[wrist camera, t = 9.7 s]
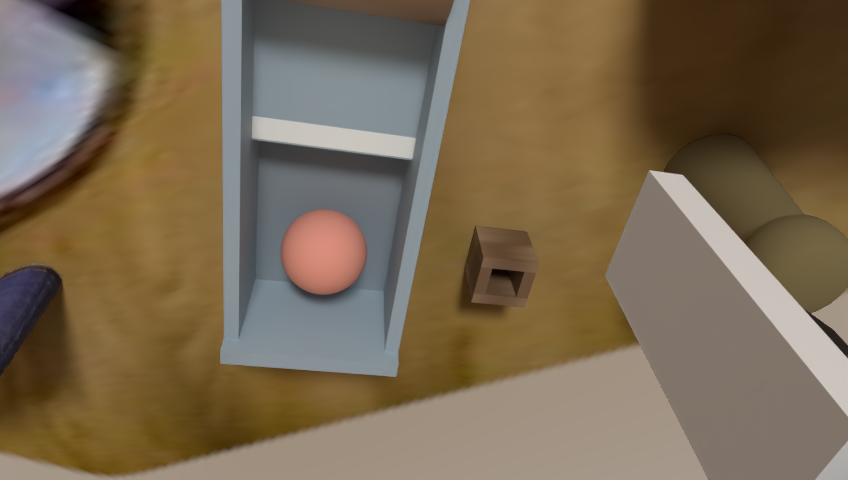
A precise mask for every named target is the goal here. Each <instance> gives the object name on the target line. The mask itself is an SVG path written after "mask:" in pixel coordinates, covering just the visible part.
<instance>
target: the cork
mask: <svg viewBox="0 0 848 480" xmlns="http://www.w3.org/2000/svg"><path fill="white" fill-rule="evenodd" d="M664 172H665V173H672V174H679V175H683V176H684V177H685V178H686V179H687V180H688V181H689V182H690V183H691V185H692V186H693V187H694V188H695V189H696V190H697V191H698V192H699V193H700V195H701V196H702V197H703V198H704V199H705V200H706V201H707V202H708V203H709V205H710V206H711V207H712V208H713V209H714V210H715V211H716V212H717V213H718V215H719V216H720V217H721V218H722V219H723V220H724V221H725V222H726V224H727V225H728V226H729V227H730V228H731V229H732V230H733V231H734V232H735V234H736V235H737V236H738V237H739V238H740V239H741V240H742V241H743V242H744V244H745V245H746V246H747V247H748V248H749V249H750V250H751V251H752V252H753V254H754V255H755V256H756V257H757V258H758V259H759V260H760V261H761V262H762V264H763V265H764V266H765V267H766V268H767V269H768V270H769V271H770V272H771V274H772V275H773V276H774V277H775V278H776V279H777V280H778V281H779V282H780V284H781V285H782V286H783V287H784V288H785V289H786V290H787V291H788V293H789V294H790V295H791V296H792V297H793V298H794V299H795V300H796V301H797V303H798V304H799V305H800V306H801V307H802V308H803V309H805V310H807V311H808V312H809V313H812V312H816V311H817V310H819V309H821V308H823V307H825V306H827V305H829V304H830V303H832V302H833V301H834V300H835V299H837V298H838V297H839V296H840V295H841V294H842V293H843V292H844V291H845V289H846V288H847V287H848V240H847V238H846V236H845V235H844V234H843V233H842V232H840V231H839V230H838V229H837V228H835V227H834V226H832V225H831V224H830V223H828V222H827V221H825V220H822V219H820V218H817V217H813V216H809V215H804V213H803V212H802V211H801V209H800V208H799V207H798V206H797V204H796V203H795V202H794V201H793V199H792V198H791V197H790V195H789V194H788V193H787V192H786V190H785V189H784V188H783V187H782V185H781V184H780V183H779V181H778V180H777V179H776V178H775V176H774V175H773V174H772V173H771V171H770V170H769V169H768V167H767V166H766V165H765V164H764V162H763V161H762V160H761V159H760V157H759V156H758V155H757V153H756V152H755V151H754V150H753V148H752V147H751V146H750V144H748V143H747V142H745V141H744V140H742V139H741V138H740V137H737V136H732V135H728V134H718V135H709V136H706V137H703V138H701V139H698V140H695V141H693V142H692V143H690V144H689V145H687V146H686V147H684V148H683V149H681V150H680V151H679V152H678V153H677V154H676V155H675V156H674V157H673V158H672V159H671V161H670V162H669V163H668V165H667V166H666V168H665V170H664Z"/></svg>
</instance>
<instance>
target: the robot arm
mask: <svg viewBox="0 0 848 480" xmlns="http://www.w3.org/2000/svg"><path fill="white" fill-rule="evenodd" d="M605 277H606V279H607V281H608V283H609V285H610V287H611V289H612V291H613V293H614V295H615V297H616V299H617V301H618V303H619V305H620V307H621V309H622V311H623V313H624V315H625V317H626V318H627V320H628V322H629V324H630V326H631V328H632V330H633V332H634V334H635V336H636V338H637V340H638V342H639V344H640V346H641V348H642V350H643V352H644V354H645V356H646V358H647V360H648V362H649V363H650V365H651V368H652V370H653V371H654V374H655V375H656V377H657V379H658V381H659V383H660V385H661V387H662V389H663V391H664V393H665V395H666V397H667V399H668V401H669V403H670V405H671V407H672V409H673V411H674V413H675V414H676V417H677V419H678V421H679V423H680V425H681V427H682V429H683V430H684V432H685V434H686V436H687V438H688V440H689V442H690V444H691V446H692V448H693V450H694V452H695V454H696V456H697V458H698V460H699V462H700V464H701V466H702V468H703V470H704V472H705V474H706V476H707V478H708V480H848V345H847V344H846V343H845V342H844V341H843V340H842V339H841V338H840V337H839V336H838V334H837V333H836V332H835V331H834V330H833V329H831V328H830V327H829V326H827V325H826V324H824V323H823V322H822V321H820V320H819V319H817V318H816V317H815V316H813V315H812V314H811V313H809V312H808V311H807V310H805V309H803V308H802V307H801V306H800V305H799V304H798V303H797V301H796V300H795V299H794V298H793V297H792V296H791V295H790V294H789V293H788V291H787V290H786V289H785V288H784V287H783V286H782V285H781V284H780V282H779V281H778V280H777V279H776V278H775V277H774V276H773V275H772V274H771V272H770V271H769V270H768V269H767V268H766V267H765V266H764V265H763V264H762V262H761V261H760V260H759V259H758V258H757V257H756V256H755V255H754V254H753V252H752V251H751V250H750V249H749V248H748V247H747V246H746V245H745V244H744V242H743V241H742V240H741V239H740V238H739V237H738V236H737V235H736V234H735V232H734V231H733V230H732V229H731V228H730V227H729V226H728V225H727V224H726V222H725V221H724V220H723V219H722V218H721V217H720V216H719V215H718V213H717V212H716V211H715V210H714V209H713V208H712V207H711V206H710V205H709V203H708V202H707V201H706V200H705V199H704V198H703V197H702V196H701V195H700V193H699V192H698V191H697V190H696V189H695V188H694V187H693V186H692V185H691V183H690V182H689V181H688V180H687V179H686V178H685V177H684V176H683V175H679V174H672V173H665V172H658V171H651V170H649V171H648V173H647V176H646V178H645V181H644V183H643V185H642V188H641V190H640V193H639V195H638V197H637V200H636V202H635V205H634V207H633V209H632V212H631V214H630V217H629V219H628V221H627V224H626V226H625V229H624V231H623V234H622V236H621V238H620V241H619V243H618V246H617V248H616V250H615V253H614V255H613V258H612V260H611V262H610V265H609V267H608V270H607V272H606V274H605Z"/></svg>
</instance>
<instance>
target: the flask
mask: <svg viewBox="0 0 848 480" xmlns="http://www.w3.org/2000/svg"><path fill="white" fill-rule="evenodd" d="M62 277H63V276H62V275H59V274H58V273H57V272H56V270H54V269H53V268H52V267H50V266H47V265H45V264H42V263H41V264H31V265H25V266H22V267H19V268H17V269H15V270H14V271H11V272H7V273H6V274H4V275H3V276H0V376H1V375H2V374H3V372H4V369H5V368H6V367H7V366H8V364H9V363H10V361H11V360H12V359H13V357H14V354H15V353H16V352H17V351H18V349H19V348H20V346H21V344H22V343H23V341H24V340H25V339H26V338H27V336H28V334H29V333H30V331H31V330H32V328H33V327H34V326H35V324H36V323H37V321H38V319H39V317H40V316H41V315H42V313H43V312H44V311H45V309H46V307H47V306H48V304H49V303H50V301H51V300H52V299H53V298H54V296H55V294H56V293H57V291H58V290H59V289H61V286H62Z"/></svg>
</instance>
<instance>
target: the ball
mask: <svg viewBox="0 0 848 480" xmlns="http://www.w3.org/2000/svg"><path fill="white" fill-rule="evenodd" d="M366 259H367V244H366V240H365V237H364V235H363V233H362V231H361V229H360V228H359V226H358V225H357V224H356V223H355V222H354V221H353V220H352V219H351V218H350V217H348V216H346V215H345V214H343V213H340V212H338V211H334V210H329V209H320V210H314V211H310V212H307V213H305V214H303V215H301V216H300V217H298V218H297V219H296V220H295V221H294V222H293V223H292V224H291V225H290V226H289V227H288V229H287V231H286V232H285V234H284V236H283V239H282V243H281V261H282V265H283V267H284V270H285V272H286V274H287V275H288V277H289V278H290V279H291V281H292V282H293V283H294V284H296V285H297V286H298V287H300V288H301V289H303V290H305V291H307V292H310V293H314V294H319V295H327V294H334V293H337V292H340V291H342V290H344V289H346V288H348V287H349V286H351V285H352V284H353V283H354V282H355V281H356V280H357V279H358V277H359V276H360V274H361V273H362V271H363V269H364V267H365V264H366Z"/></svg>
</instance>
